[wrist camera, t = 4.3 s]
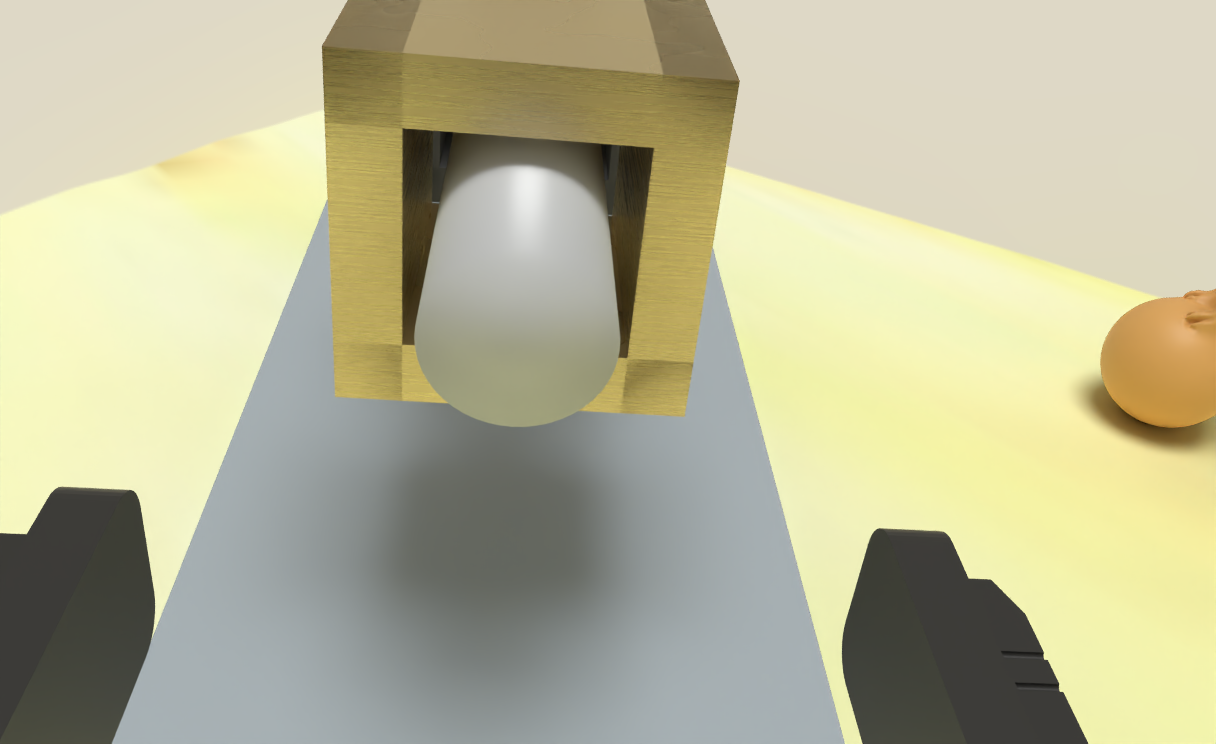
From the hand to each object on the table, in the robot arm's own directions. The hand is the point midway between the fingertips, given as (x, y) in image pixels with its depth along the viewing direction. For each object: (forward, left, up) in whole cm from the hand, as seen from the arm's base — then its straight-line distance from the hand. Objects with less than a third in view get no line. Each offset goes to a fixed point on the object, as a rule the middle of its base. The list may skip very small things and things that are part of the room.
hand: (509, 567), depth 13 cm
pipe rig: (0, -17, -10) cm, 20 cm away
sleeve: (0, -11, -3) cm, 11 cm away
